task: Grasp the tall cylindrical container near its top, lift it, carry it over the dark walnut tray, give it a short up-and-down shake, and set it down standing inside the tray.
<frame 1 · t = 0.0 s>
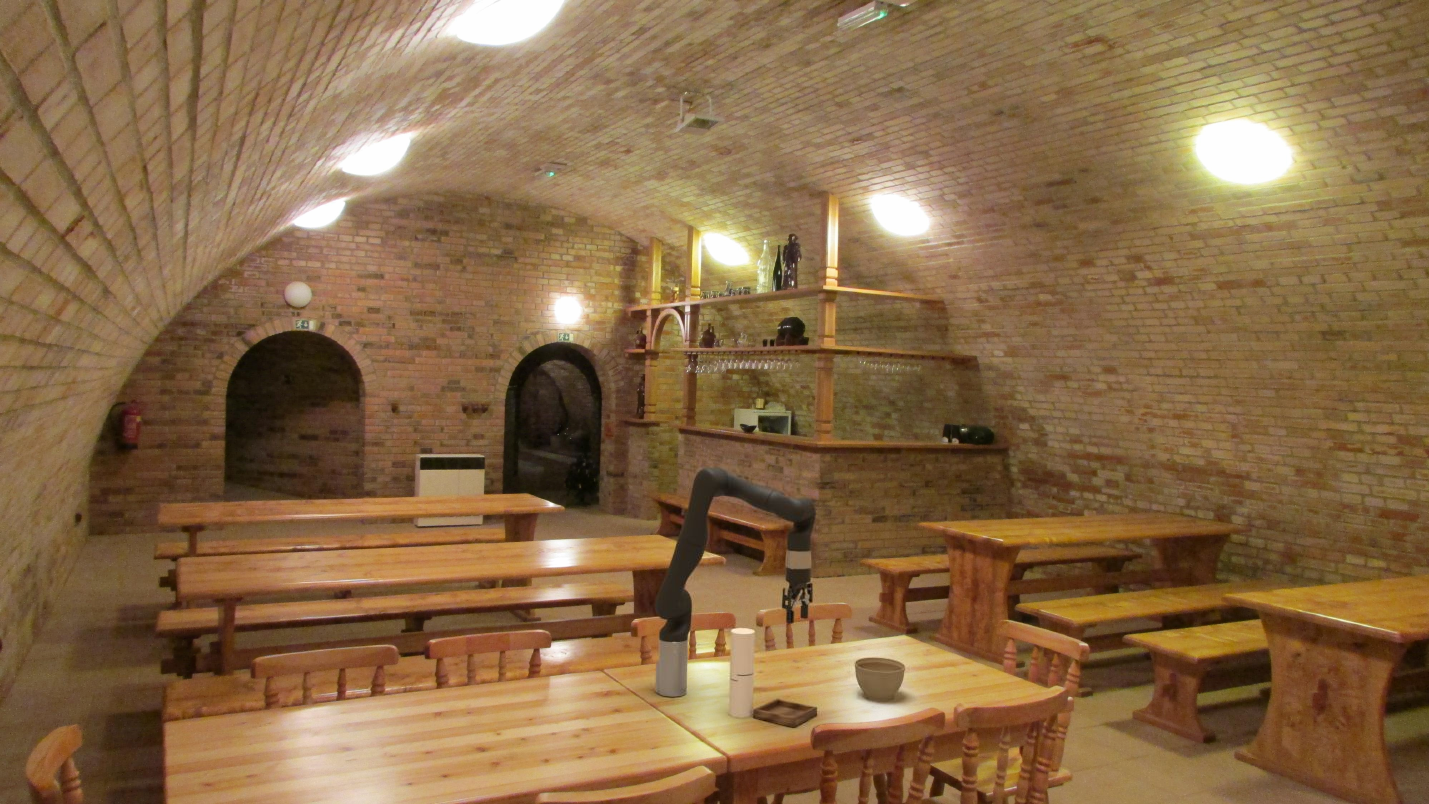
hand: (797, 620, 285), 30 cm above the table, tool pointing down, fingers open, 8 cm apart
walnut tray: (785, 716, 290), on the table
cylindrical container: (740, 714, 292), on the table
planter bowl: (878, 698, 312), on the table
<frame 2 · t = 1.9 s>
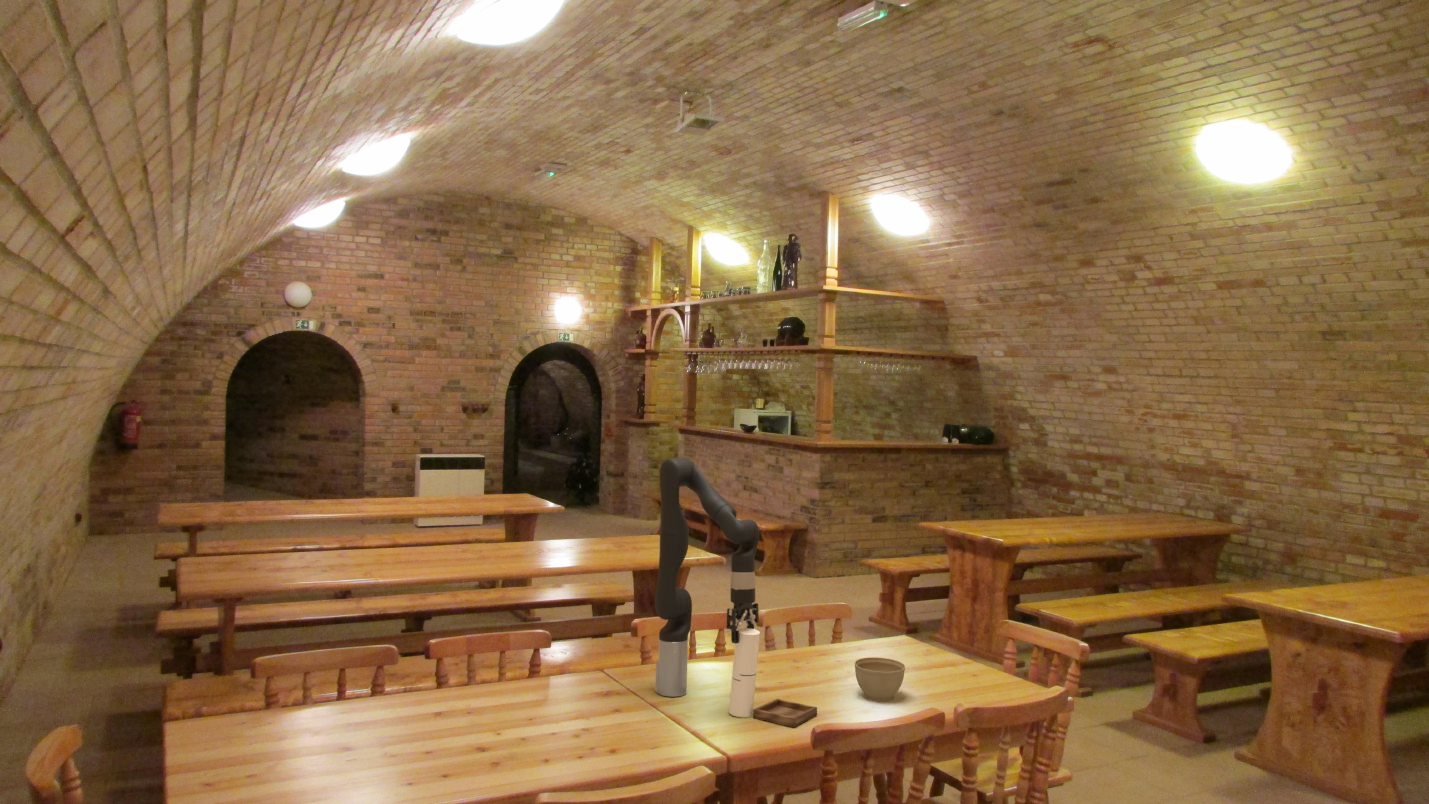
hand: (742, 640, 291), 22 cm above the table, tool pointing down, fingers open, 8 cm apart
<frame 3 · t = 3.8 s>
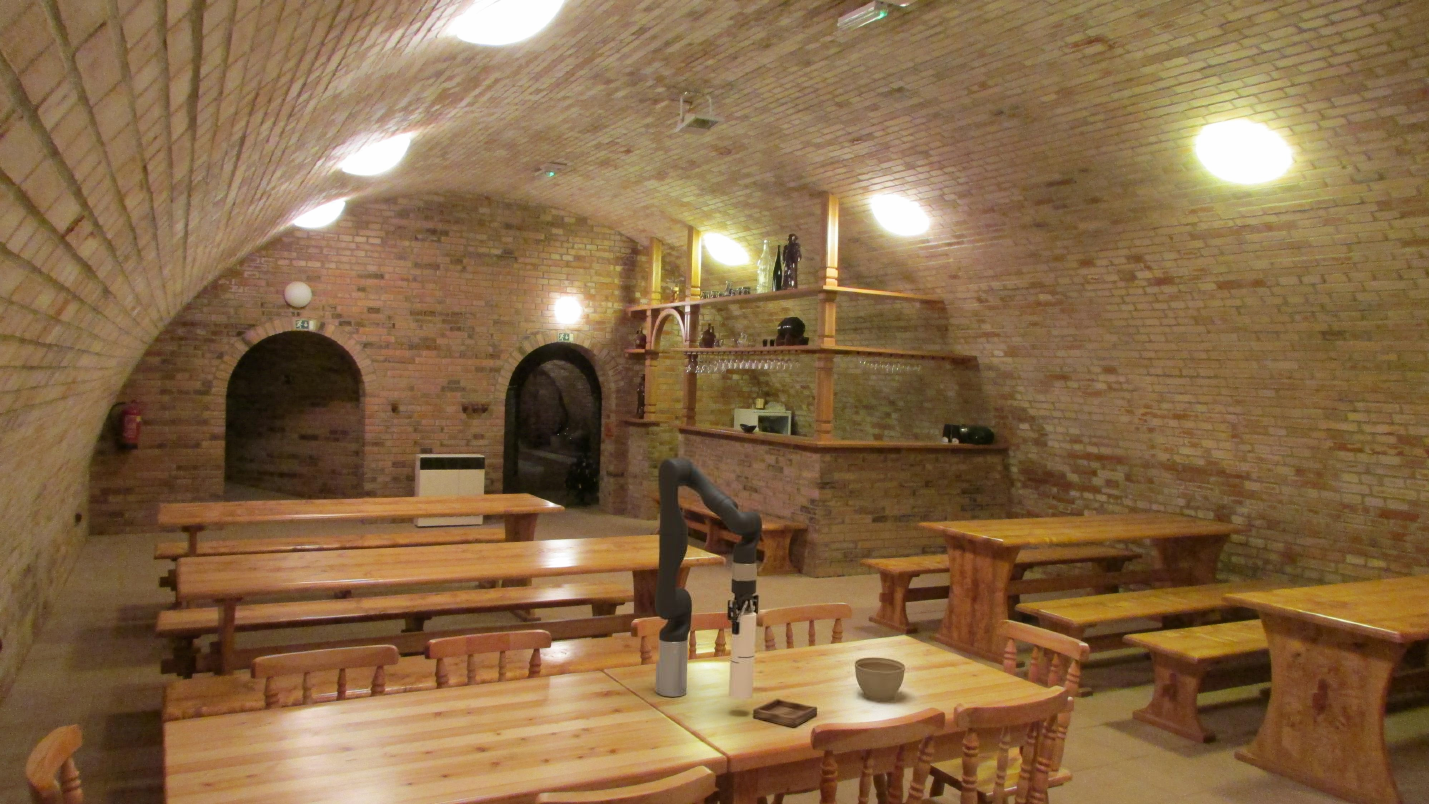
hand: (742, 631, 292), 25 cm above the table, tool pointing down, fingers closed on cylindrical container, 7 cm apart
cylindrical container: (740, 696, 292), point 5 cm above the table, touching gripper
everything else where it was.
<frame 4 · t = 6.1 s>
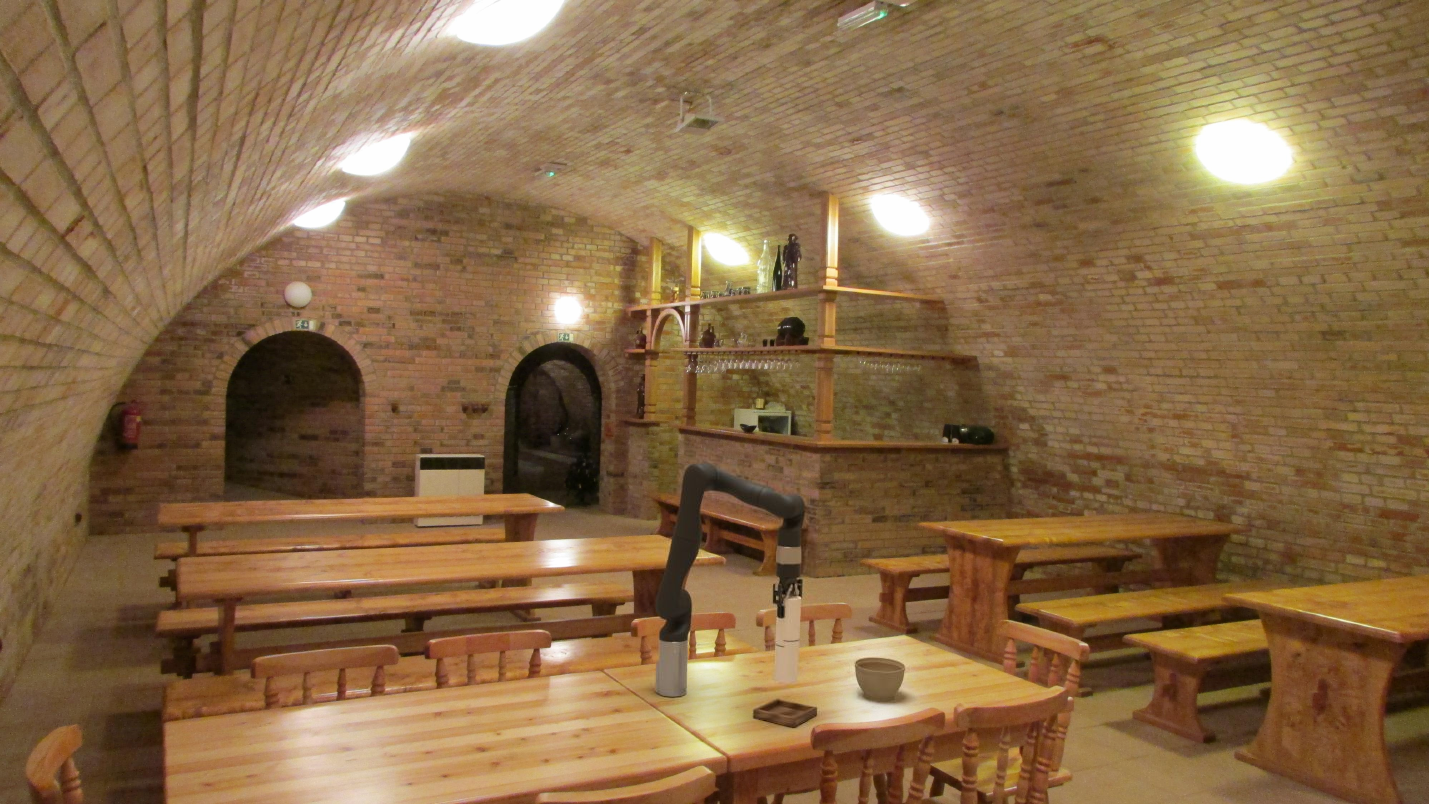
hand: (787, 615, 290), 30 cm above the table, tool pointing down, fingers closed on cylindrical container, 7 cm apart
cylindrical container: (785, 680, 291), point 11 cm above the table, touching gripper
everything else where it was.
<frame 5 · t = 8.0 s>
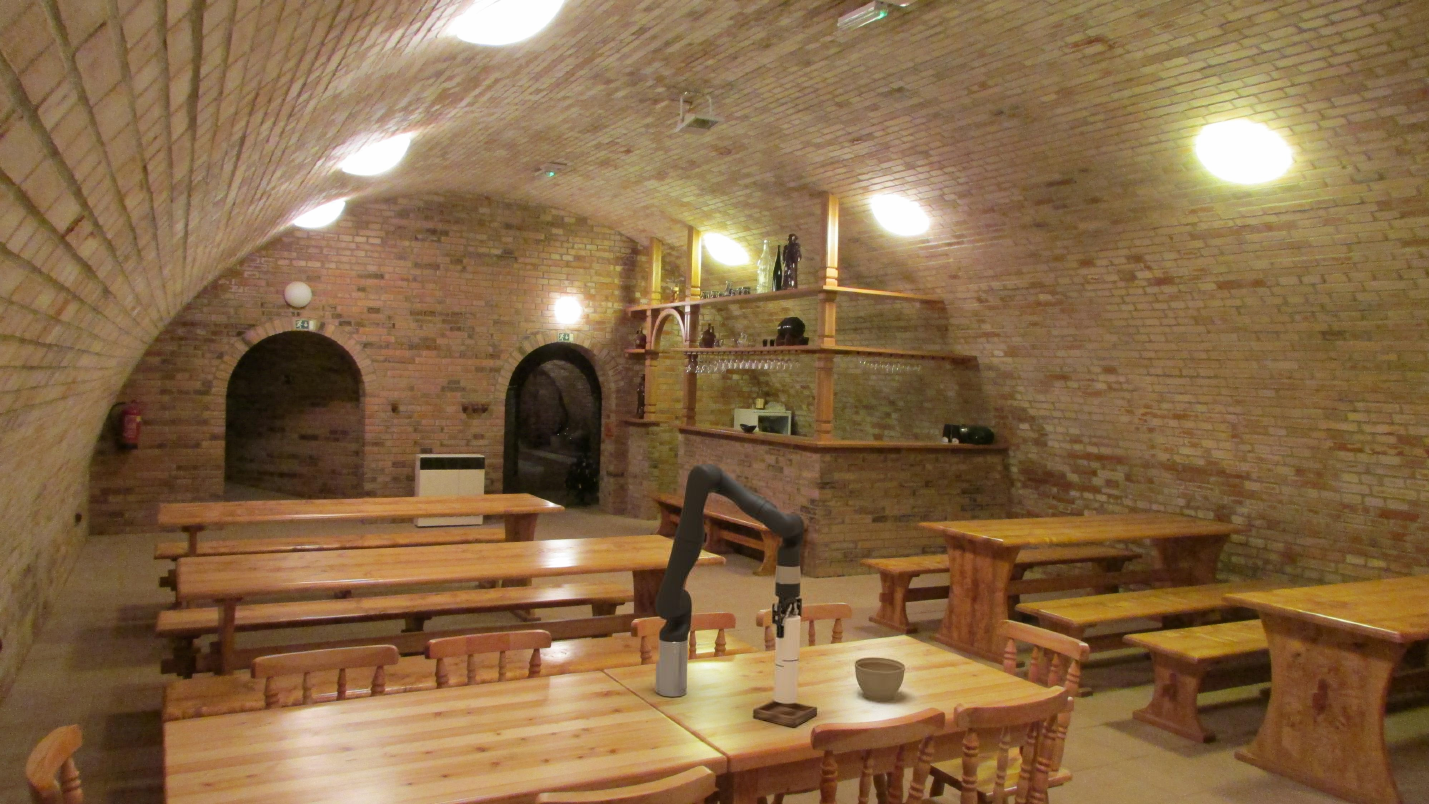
hand: (786, 635, 290), 24 cm above the table, tool pointing down, fingers closed on cylindrical container, 7 cm apart
cylindrical container: (785, 700, 290), point 5 cm above the table, touching gripper
everything else where it was.
when the fingers open (21 cm above the table, at t = 9.6 s): cylindrical container moves 1 cm, resting on walnut tray.
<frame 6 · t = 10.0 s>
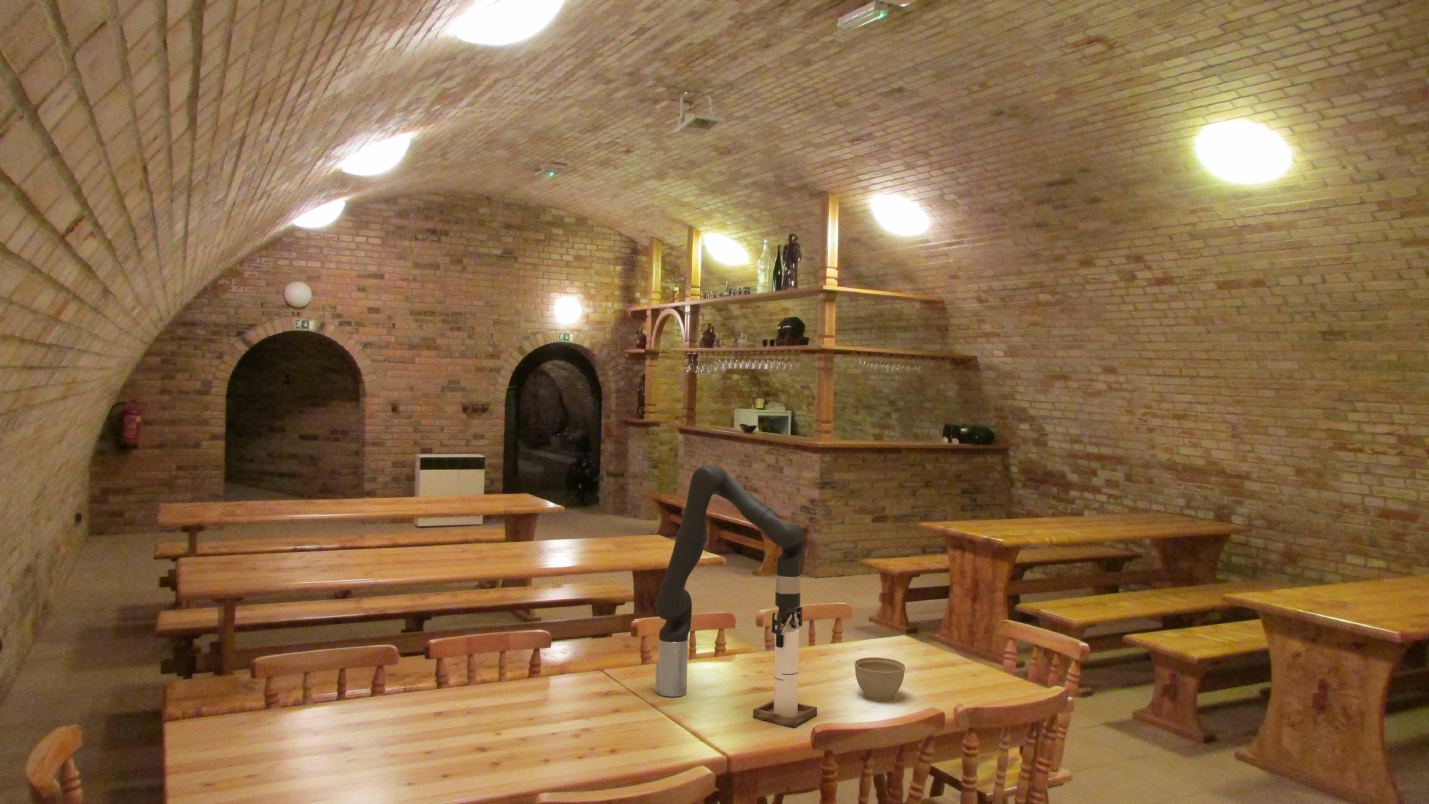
hand: (786, 644, 290), 22 cm above the table, tool pointing down, fingers open, 8 cm apart
cylindrical container: (785, 713, 291), point 1 cm above the table, touching walnut tray
everything else where it was.
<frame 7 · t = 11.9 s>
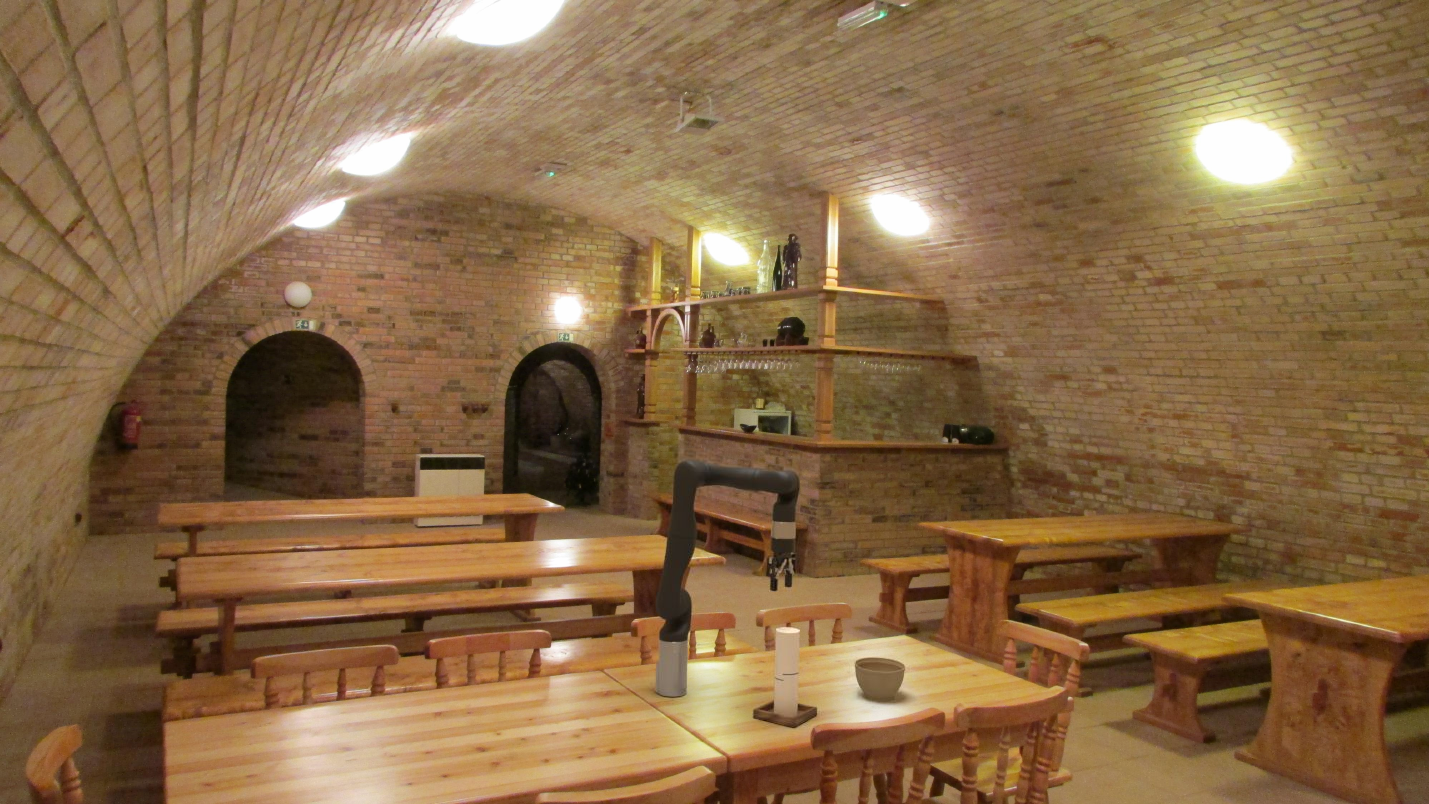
hand: (781, 589, 295), 37 cm above the table, tool pointing down, fingers open, 8 cm apart
nothing on the table moved.
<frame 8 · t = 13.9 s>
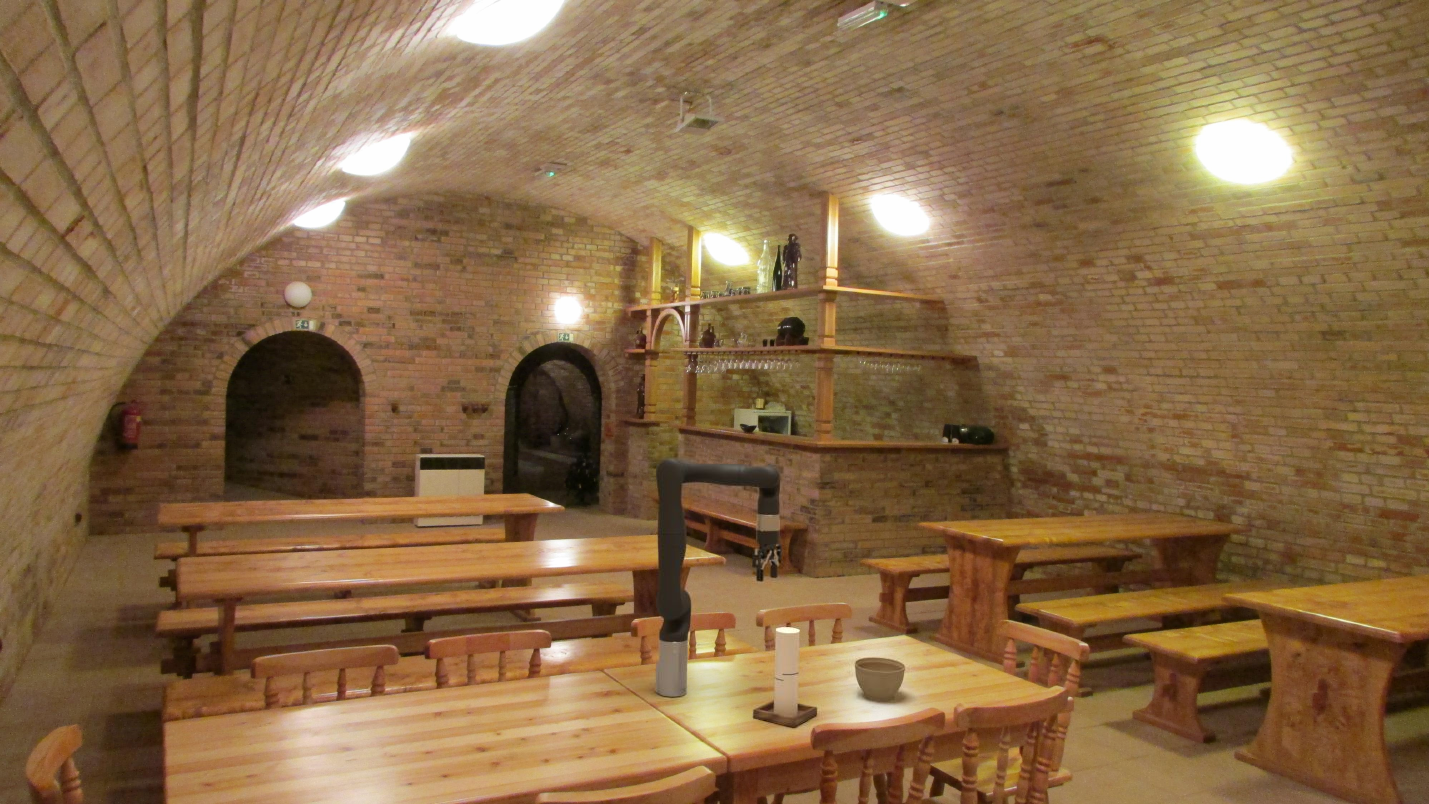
hand: (766, 579, 308), 38 cm above the table, tool pointing down, fingers open, 8 cm apart
nothing on the table moved.
at the end: cylindrical container inside the target area on the walnut tray (0.7 cm from its centre), point 0.7 cm above the walnut tray's base; cylindrical container tilted 0°; the gripper is holding nothing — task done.
